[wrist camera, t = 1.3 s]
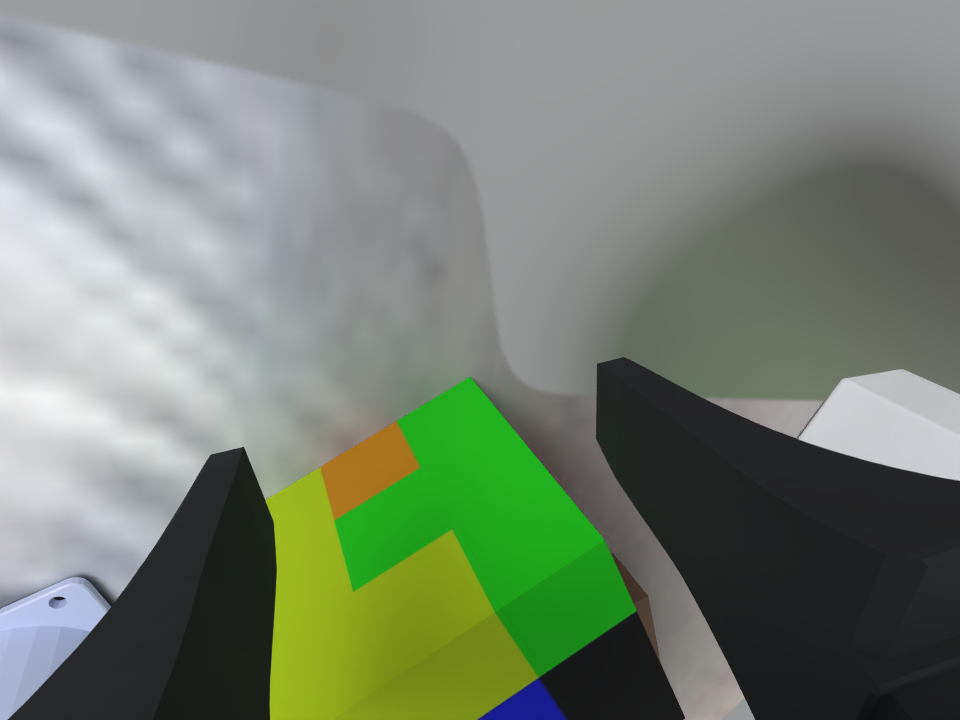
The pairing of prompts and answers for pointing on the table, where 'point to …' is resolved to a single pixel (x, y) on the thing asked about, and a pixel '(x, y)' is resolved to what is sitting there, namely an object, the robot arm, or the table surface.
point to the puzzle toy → (451, 585)
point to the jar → (892, 423)
